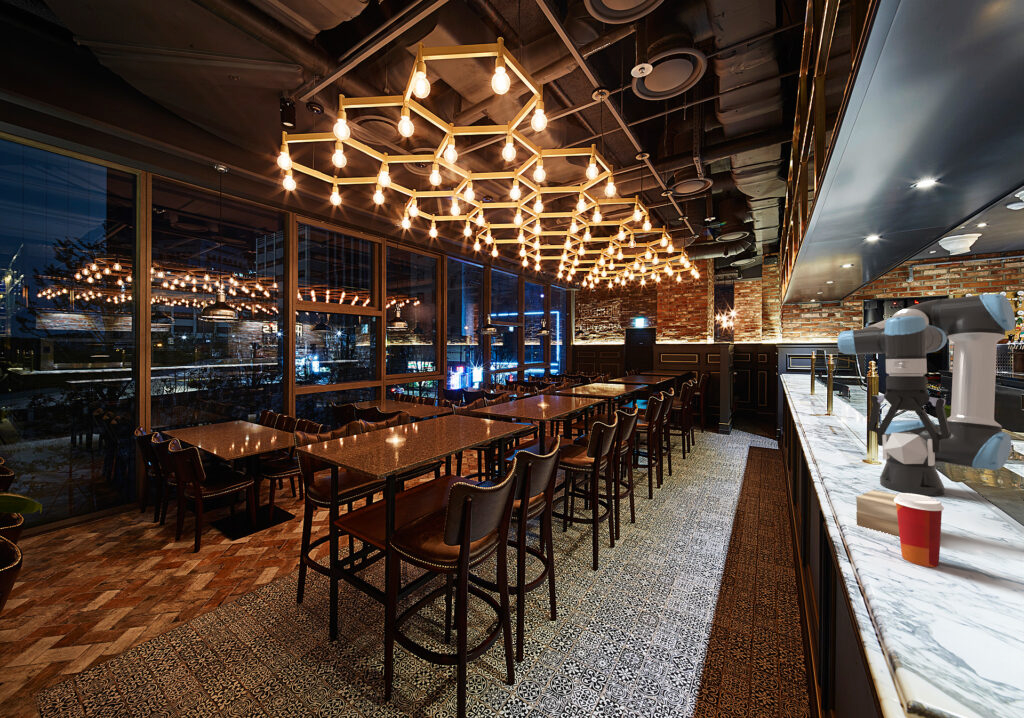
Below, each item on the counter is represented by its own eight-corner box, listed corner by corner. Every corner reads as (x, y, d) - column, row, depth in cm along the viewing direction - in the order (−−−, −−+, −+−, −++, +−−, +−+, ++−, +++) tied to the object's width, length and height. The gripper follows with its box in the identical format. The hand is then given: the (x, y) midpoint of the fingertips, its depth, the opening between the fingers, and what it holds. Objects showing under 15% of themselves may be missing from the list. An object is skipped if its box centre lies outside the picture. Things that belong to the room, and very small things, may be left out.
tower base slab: (871, 517, 109) (871, 503, 109) (927, 531, 100) (926, 516, 100) (856, 526, 103) (856, 512, 103) (914, 542, 94) (913, 526, 94)
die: (938, 471, 95) (943, 437, 98) (902, 453, 96) (908, 420, 99) (906, 474, 102) (911, 442, 105) (873, 457, 104) (879, 427, 107)
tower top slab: (874, 503, 109) (873, 489, 109) (929, 517, 99) (929, 501, 99) (856, 511, 103) (856, 497, 104) (913, 526, 94) (913, 510, 94)
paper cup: (930, 554, 87) (928, 493, 87) (956, 572, 80) (953, 506, 80) (886, 550, 90) (885, 490, 90) (908, 567, 83) (906, 502, 83)
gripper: (850, 374, 107) (852, 456, 107) (963, 376, 90) (965, 473, 90) (859, 374, 111) (861, 452, 111) (968, 375, 94) (971, 467, 94)
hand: (908, 461), depth 101 cm, fingers closed on die, 8 cm apart
